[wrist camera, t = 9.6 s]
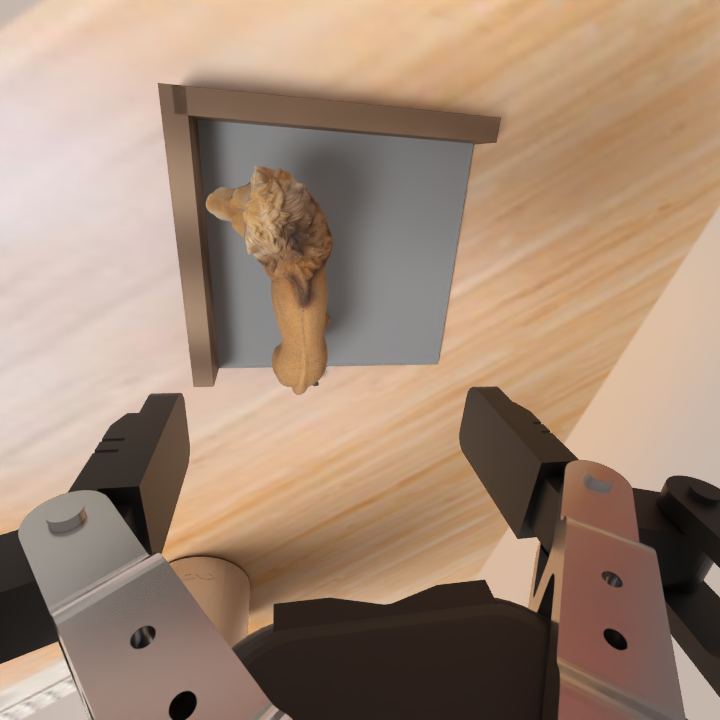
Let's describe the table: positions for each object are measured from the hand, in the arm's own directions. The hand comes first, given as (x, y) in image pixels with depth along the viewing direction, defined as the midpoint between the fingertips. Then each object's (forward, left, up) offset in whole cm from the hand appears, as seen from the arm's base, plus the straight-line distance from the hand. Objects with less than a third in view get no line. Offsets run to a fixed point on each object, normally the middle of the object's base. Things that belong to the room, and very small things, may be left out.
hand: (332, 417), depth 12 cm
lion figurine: (-1, +1, -17) cm, 17 cm away
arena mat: (+1, -2, -18) cm, 18 cm away
